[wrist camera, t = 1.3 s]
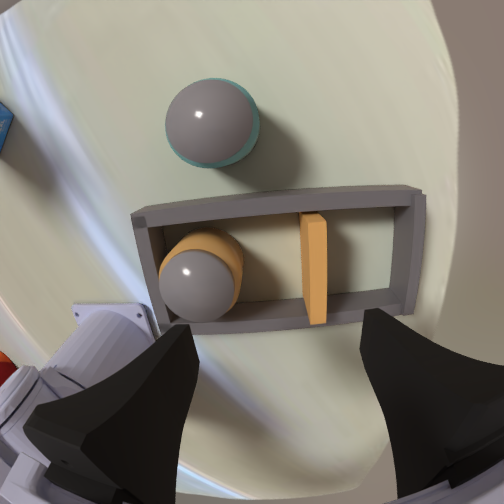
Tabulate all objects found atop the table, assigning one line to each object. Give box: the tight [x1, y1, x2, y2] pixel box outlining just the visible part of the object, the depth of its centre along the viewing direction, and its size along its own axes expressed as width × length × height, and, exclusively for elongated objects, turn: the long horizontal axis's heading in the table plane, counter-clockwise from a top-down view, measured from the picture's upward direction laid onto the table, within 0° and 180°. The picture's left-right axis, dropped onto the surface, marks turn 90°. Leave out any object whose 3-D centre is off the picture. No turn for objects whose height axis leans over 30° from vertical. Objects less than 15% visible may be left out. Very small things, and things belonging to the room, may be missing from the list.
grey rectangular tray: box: [130, 185, 426, 335], centre depth 18 cm, size 9×18×3 cm, turn 96°
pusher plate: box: [299, 211, 327, 325], centre depth 17 cm, size 6×1×4 cm, turn 6°
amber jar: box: [159, 227, 244, 322], centre depth 18 cm, size 5×5×4 cm
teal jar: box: [165, 78, 260, 168], centre depth 15 cm, size 5×5×4 cm
